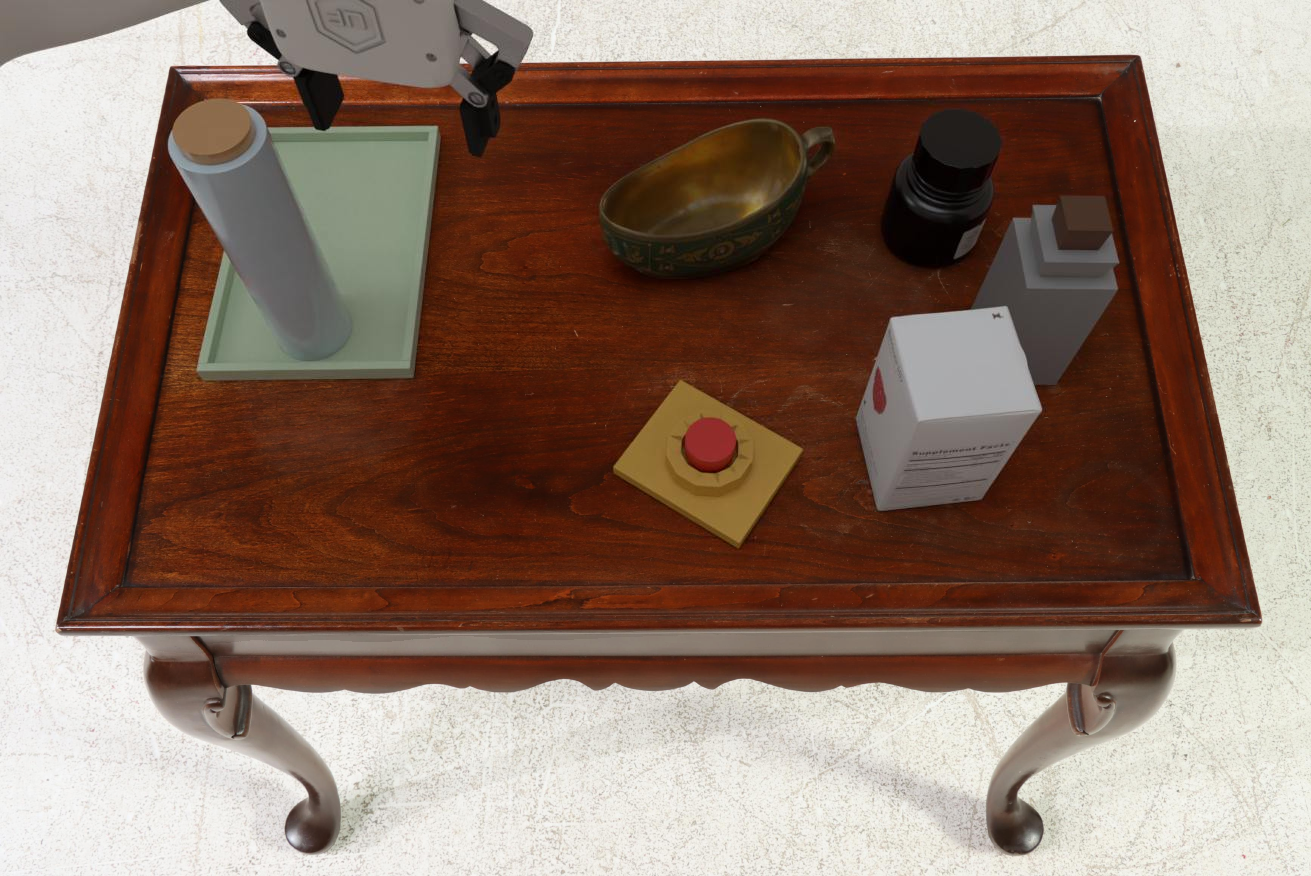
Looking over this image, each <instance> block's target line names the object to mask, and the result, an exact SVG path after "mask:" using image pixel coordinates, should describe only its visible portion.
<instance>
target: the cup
mask: <svg viewBox="0 0 1311 876" xmlns="http://www.w3.org/2000/svg"><path fill="white" fill-rule="evenodd" d="M818 144H821V145H820V147H819V149H818V150H817V152H816V153H815V154H814V155H813V157H812V158H811V159H810V160H809V151H810V150H811V149H812V148H813V147H814V146H816V145H818ZM835 150H836V139H835V136H834V134H833V128H832V127H830V126H816V127H813V128H810V129H808V130H806V131H804V133H803V134H802V136H800V134H799V133H798V132H797V130H795V128H793V127H792V126H791V125H789V124H788V123H786V122H784V121H781V120H779V119H776V118H765V117H762V118H761V117H760V118H759V117H757V118H751V119H747V120H741V121H737V122H733V123H729V124H727V125H724V126H720V127H718V128H716V129H713V130H711V131H708V132H706V133H704V134H702V135H700V136H698V137H696V138H694V139H692V140H690V141H687V142H686V143H684V144H682V145H680V146H679V147H677V148H674V149H672V150H671V151H668V152H667V153H665V154H663V155H660V156H659V157H657V158H655V159H654V160H652V161H649V162H648V163H646V164H644V165H642V166H640V167H638V168H635V169H634V170H633V171H631V172H629V173H627V174H625V175H624V176H622V177H621V178H620V179H618V180H617V181H615V182H614V183H613V184H612V185H610V187H609V188H607V189H606V191H604V193H603V195H602V197H601V198H600V201H599V205H598V221H599V226H600V231H601V234H602V239H603V240H604V242H605V244H606V246H607V247H608V249H609V250H610V251H611V252H612V254H613V255H614V256H615V257H616V258H618V259H619V260H620V261H621V262H623V263H624V264H625V265H627V266H629V267H631V268H633V269H635V270H636V271H638V272H639V273H641V274H643V275H645V276H648V277H650V278H655V279H661V280H662V279H664V280H686V279H687V280H688V279H698V278H704V277H710V276H715V275H720V274H723V273H727V272H731V271H734V270H736V269H739V268H742V267H744V266H747V265H749V264H751V263H754V262H755V261H757V260H759V258H760V257H762V256H763V255H764V253H765V252H767V251H769V249H770V248H772V246H773V245H774V244H775V243H776V242H777V241H778V240H779V239H780V238H781V237H782V236H783V234H784V233H785V232H786V231H787V230H788V228H789V227H790V226H791V223H792V222H793V220H794V219H795V217H796V215H797V213H798V211H799V209H800V206H801V204H802V201H803V200H804V198H803V197H804V196H805V191H806V186H807V182H808V181H809V180H811V178H812V177H813V176H815V174H817V173H818V171H819V170H821V169H822V168H823V166H825V165H826V164H827V162H828V161H829V160H830V159H831V157H832V156H833V154H834V152H835Z"/></svg>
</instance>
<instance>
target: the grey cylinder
mask: <svg viewBox="0 0 1311 876" xmlns="http://www.w3.org/2000/svg"><path fill="white" fill-rule="evenodd" d="M167 150H168V154H169V156H170V158H171V160H172V162H173V164H174V165H175V168H176V169H177V170H178V173H179V174H180V176H181V177H182V180H183V181H184V183H185V185H186V186H187V188H188V190H189V192H190V194H191V195H192V197H193V198H194V200H195V202H196V204H197V206H198V207H199V209H200V210H201V213H202V214H203V216H204V218H205V219H206V222H207V224H209V227H210V228H211V230H212V231H213V234H214V235H215V237H216V238H217V240H218V243H219V244H220V246H221V247H222V249H223V252H224V251H225V253H226V254H227V256H228V258H229V260H230V261H231V263H232V265H233V267H234V268H235V270H236V272H237V274H238V275H239V277H240V279H241V281H242V282H243V284H244V286H245V288H246V289H247V291H248V293H249V295H250V296H251V298H252V300H253V302H254V303H255V305H256V307H257V309H258V310H259V312H260V314H261V316H262V317H263V319H264V321H265V322H266V324H267V326H268V328H269V329H270V331H271V333H272V335H273V336H274V338H275V340H276V342H277V343H278V345H279V347H280V348H281V350H282V351H283V352H284V353H285V354H287V355H288V356H290V357H292V358H294V359H297V360H302V361H315V360H320V359H324V358H327V357H329V356H331V355H333V354H334V353H336V352H337V351H339V350H340V349H341V348H342V347H343V346H344V345H345V344H346V342H347V341H348V339H349V337H350V335H351V332H352V319H351V316H350V313H349V311H348V309H347V306H346V304H345V302H344V300H343V297H342V295H341V293H340V291H339V288H338V286H337V284H336V282H335V279H334V277H333V275H332V273H331V270H330V268H329V266H328V264H327V261H326V259H325V257H324V254H323V252H322V250H321V248H320V245H319V243H318V241H317V239H316V236H315V234H314V232H313V230H312V227H311V225H310V223H309V221H308V218H307V216H306V214H305V211H304V209H303V207H302V205H301V202H300V200H299V198H298V196H297V193H296V191H295V189H294V187H293V184H292V182H291V180H290V178H289V175H288V173H287V171H286V169H285V166H284V164H283V162H282V159H281V157H280V155H279V153H278V150H277V148H276V146H275V144H274V141H273V139H272V137H271V135H270V132H269V130H268V126H267V124H266V121H265V120H264V118H263V117H262V115H261V114H260V113H259V112H258V111H257V110H256V109H254V108H252V107H250V106H248V105H245V104H242V103H240V102H238V101H236V100H233V99H229V98H221V97H220V98H211V99H210V98H208V99H204V100H201V101H199V102H196V103H194V104H192V105H190V106H189V107H187V108H186V109H184V110H183V111H182V112H181V113H180V114H179V115H178V116H177V118H176V119H175V121H174V123H173V126H172V130H171V131H170V134H169V136H168V140H167Z"/></svg>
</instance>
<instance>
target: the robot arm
mask: <svg viewBox="0 0 1311 876" xmlns="http://www.w3.org/2000/svg"><path fill="white" fill-rule="evenodd" d="M208 1H210V0H0V68H1V67H2V66H4V65H5V64H7V63H9V62H11V61H13V60H16V59H18V58H21V57H23V56H26V55H29V54H34V53H37V52H41V51H47V50H49V49H50V50H51V49H54V48H58V47H64V46H67V45H71V44H75V43H80V42H84V41H87V40H92V39H95V38H98V37H99V38H100V37H101V36H105V35H110V34H112V33H115V32H118V31H122V30H125V29H128V28H131V27H134V26H138V25H140V24H143V23H145V22H150V21H151V20H154V19H157V18H160V17H163V16H165V15H168V14H171V13H174V12H178V11H182V10H184V9H188V8H190V7H194V6H197V5H200V4H203V3H206V2H208ZM218 1H219V3H220V4H221V5H222V6H223V7H224V9H226V10H227V11H228V12H229V14H230V15H231V16H232V17H233V18H234V19H235V20H236V21H237V22H238V24H239V25H241V26H243V27H245V29H246V34H247V37H248V38H249V39H250V40H251V41H252V42H253V43H255V44H256V45H257V46H258V47H260V48H261V49H263V51H265V52H267V53H268V54H269V55H270V56H272V57H273V58H275V59H276V60H277V64H276V65H277V68H278V70H279V71H280V72H281V73H282V74H283V75H285V76H287V77H289V78H292V79H293V81H294V84H295V87H296V89H297V91H298V94H299V96H300V99H301V101H302V104H303V106H304V107H306V111H307V112H308V115H309V118H310V119H311V122H312V125H313V127H314V128H315V129H316V130H320V131H326V130H327V129H329V128H330V127H332V123H334V120H335V118H336V116H337V114H338V112H339V110H340V108H341V105H342V104H343V101H344V99H345V93H344V90H343V86H342V84H341V81H340V78H339V76H342V77H348V78H349V77H350V78H355V79H360V80H366V81H367V80H368V81H373V82H380V83H385V84H386V83H388V84H394V85H400V86H406V87H414V88H421V89H439V88H444V87H447V86H450V87H451V88H452V89H453V90H454V91H455V92H456V93H458V94H459V95H460V97H462V99H461V102H460V104H459V115H460V119H461V123H462V128H463V133H464V137H465V142H466V145H467V151H468V153H469V154H471V156H472V157H476V158H482V157H483V156H484V153H485V150H486V148H487V146H488V142H489V140H490V139H496V137H497V136H498V133H499V131H500V128H501V122H502V121H501V120H502V119H501V118H502V117H501V111H500V106H499V100H498V95H497V93H498V92H499V91H501V90H502V89H504V88H505V87H506V86H508V85H509V84H510V83H511V82H512V81H513V79H514V77H515V75H516V73H517V71H518V69H519V68H520V66H521V64H522V62H523V60H524V58H525V56H526V54H527V53H528V50H529V48H530V45H531V42H532V40H533V38H534V31H533V29H532V28H531V27H530V26H529V25H528V24H526V23H524V22H522V21H520V20H519V19H517V18H515V17H513V15H509V14H508V13H506V12H504V11H503V10H501V9H499V8H497V7H495V6H494V5H493V4H490V3H489V2H486V1H485V0H218ZM473 34H474V35H476V36H477V37H479V38H481V39H483V40H484V41H486V42H488V43H489V44H492V45H493V46H495V47H496V48H497V50H496V51H494V53H493V54H491V53H490V52H489V51H488V50H487V49H486V48H484V46H483V45H482V44H481V43H479V42H478V41H477V40H476V38H475V37H473ZM461 58H462V60H464V61H465V62H466V63H467V64H468V65H469V66H470V67H472V68H473V69H472V71H471V72H469V71H468V70H467V69H466V68H465V67H464V66H463V65H462V64H460V63H461Z"/></svg>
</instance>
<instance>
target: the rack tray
mask: <svg viewBox="0 0 1311 876" xmlns="http://www.w3.org/2000/svg"><path fill="white" fill-rule="evenodd" d="M267 128H268V130H269V132H270V135H271V137H272V139H273V141H274V144H275V146H276V148H277V150H278V153H279V155H280V157H281V159H282V162H283V164H284V166H285V169H286V171H287V173H288V175H289V178H290V180H291V182H292V184H293V187H294V189H295V191H296V193H297V196H298V198H299V200H300V202H301V205H302V207H303V209H304V211H305V214H306V216H307V218H308V221H309V223H310V225H311V227H312V230H313V232H314V234H315V236H316V239H317V241H318V243H319V245H320V248H321V250H322V252H323V254H324V257H325V259H326V261H327V264H328V266H329V268H330V270H331V273H332V275H333V277H334V279H335V282H336V284H337V286H338V288H339V291H340V293H341V295H342V297H343V300H344V302H345V304H346V306H347V309H348V311H349V313H350V316H351V319H352V332H351V335H350V337H349V339H348V341H347V342H346V344H345V345H344V346H343V347H342V348H341V349H340V350H339V351H337V352H336V353H334V354H333V355H331V356H329V357H327V358H324V359H320V360H315V361H302V360H297V359H294V358H292V357H290V356H288V355H287V354H285V353H284V352H283V351H282V350H281V348H280V347H279V345H278V343H277V342H276V340H275V338H274V336H273V335H272V333H271V331H270V329H269V328H268V326H267V324H266V322H265V321H264V319H263V317H262V316H261V314H260V312H259V310H258V309H257V307H256V305H255V303H254V302H253V300H252V298H251V296H250V295H249V293H248V291H247V289H246V288H245V286H244V284H243V282H242V281H241V279H240V277H239V275H238V274H237V272H236V270H235V268H234V267H233V265H232V263H231V261H230V260H229V258H228V256H227V254H226V253H225V251H224V250H223V254H222V257H221V262H220V267H219V271H218V274H217V275H218V276H217V280H216V284H215V288H214V293H213V297H212V301H211V304H210V310H209V312H208V313H209V314H208V317H207V323H206V327H205V331H204V336H203V339H202V344H201V348H200V352H199V356H198V361H197V366H196V373H197V374H198V376H199V377H200V378H201V380H202V381H204V382H205V381H206V382H208V381H209V382H210V381H211V382H212V381H213V382H214V381H215V382H217V381H283V380H284V381H286V380H290V381H291V380H293V381H295V380H365V379H367V380H368V379H369V380H371V379H378V380H379V379H380V380H381V379H414V378H415V370H416V369H415V368H416V360H417V353H418V352H417V351H418V343H419V342H418V341H419V335H420V334H419V333H420V325H421V315H422V309H423V307H422V306H423V299H424V298H423V297H424V290H425V282H426V281H425V280H426V272H427V263H428V253H429V245H430V238H431V237H430V236H431V230H432V229H431V228H432V220H433V210H434V202H435V201H434V200H435V192H436V183H437V175H438V166H439V157H440V150H441V149H440V148H441V139H442V137H441V134H440V129H439V126H438V125H395V126H394V125H389V126H387V125H385V126H383V125H382V126H380V125H379V126H330V128H329V129H327V130H326V131H320V130H316V129H315V128H314V126H289V127H288V126H287V127H286V126H285V127H284V126H279V127H278V126H277V127H276V126H275V127H271V126H270V127H268V126H267Z"/></svg>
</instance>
